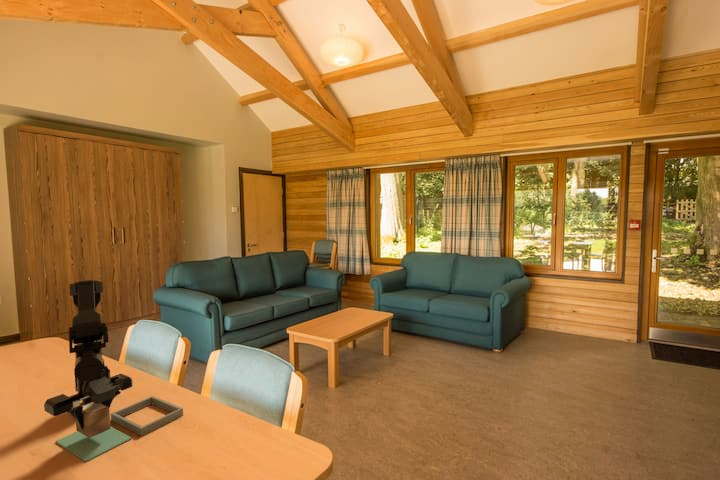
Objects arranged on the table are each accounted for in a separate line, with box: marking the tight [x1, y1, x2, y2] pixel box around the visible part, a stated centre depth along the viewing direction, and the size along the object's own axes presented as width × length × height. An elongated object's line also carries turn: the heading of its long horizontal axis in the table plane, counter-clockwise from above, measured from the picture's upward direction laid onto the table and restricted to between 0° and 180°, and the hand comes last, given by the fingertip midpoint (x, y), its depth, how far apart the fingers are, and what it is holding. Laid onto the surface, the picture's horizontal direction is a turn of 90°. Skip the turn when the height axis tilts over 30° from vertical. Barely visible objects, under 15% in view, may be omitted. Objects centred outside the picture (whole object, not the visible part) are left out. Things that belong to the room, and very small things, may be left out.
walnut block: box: [75, 402, 111, 438], centre depth 103 cm, size 5×7×6 cm
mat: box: [55, 426, 132, 463], centre depth 103 cm, size 16×11×1 cm
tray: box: [110, 395, 184, 437], centre depth 114 cm, size 16×13×2 cm
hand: (93, 424), depth 103 cm, fingers closed on walnut block, 5 cm apart
